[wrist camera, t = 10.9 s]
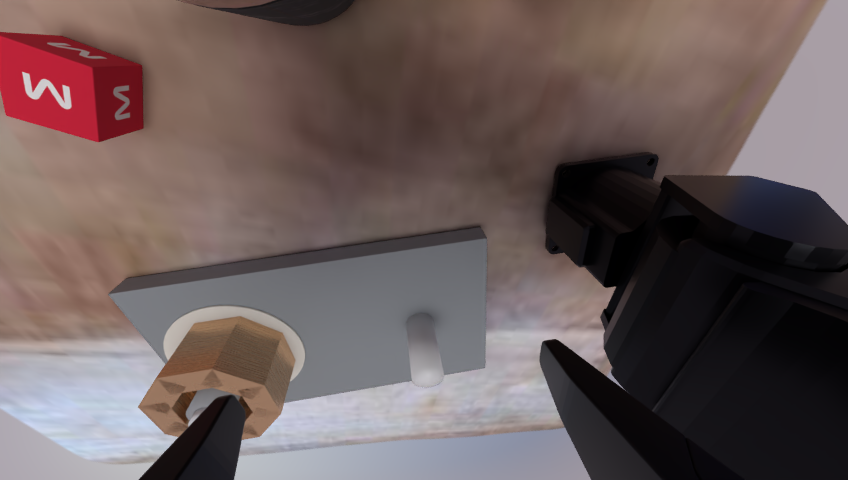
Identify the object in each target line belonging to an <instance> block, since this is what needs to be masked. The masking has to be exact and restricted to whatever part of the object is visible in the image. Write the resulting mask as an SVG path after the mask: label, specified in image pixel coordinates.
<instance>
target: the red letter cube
mask: <svg viewBox="0 0 848 480" xmlns="http://www.w3.org/2000/svg"><path fill="white" fill-rule="evenodd" d="M0 90H1V95H2V99H3V104H4V109H5V113H6V115H7V116H10V117H13V118H16V119H20V120H23V121H27V122H30V123H34V124H37V125H41V126H44V127H47V128H51V129H54V130H58V131H61V132H65V133H68V134H72V135H75V136H79V137H82V138H85V139H89V140H92V141H96V142H101V141H104V140H107V139H111V138H114V137H117V136H120V135H124V134H127V133H130V132H133V131H137V130H140V129H143V82H142V65H140V64H137V63H134V62H132V61H129V60H126V59H123V58H121V57H118V56H115V55H112V54H110V53H107V52H104V51H101V50H99V49H96V48H93V47H90V46H88V45H85V44H82V43H79V42H76V41H74V40H71V39H68V38H65V37H63V36H54V35H38V34H22V33H6V32H0Z"/></svg>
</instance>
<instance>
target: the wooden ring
mask: <svg viewBox="0 0 848 480" xmlns="http://www.w3.org/2000/svg"><path fill="white" fill-rule="evenodd" d="M295 361H296V360H295V358H294V356H293V353H292V351H291V349H290V347H289V345H288V343H287V341H286V339H285V337H284V335H283V333H282V332H279V331H277V330H274V329H272V328H269V327H267V326H264V325H262V324H259V323H257V322H254V321H252V320H249V319H247V318H244V317H241V316H237V317H231V318H224V319H218V320H211V321H205V322H198V323H194V324H193V326H192V327H191V329H190V330H189V331H188V333H187V334H186V336H185V337H184V339H183V340H182V342H181V343H180V344H179V346H178V347H177V349H176V350H175V352H174V353H173V355H172V356H171V357H170V359H169V360H168V362H167V363H166V365H165V366H164V368H163V369H162V370H161V372H160V373H159V375H158V376H157V378H156V379H155V381H154V382H153V384H152V386H151V387H150V389H149V390H148V392H147V393H146V395H145V397H144V398H143V400H142V401H141V403H140V405H139V406H138V408H139V409H140V410H141V411H142V412H143V413H145V414H146V415H147V416H148V417H149V418H150V419H151V420H152V421H153V422H154V423H155V424H156V425H157V426H158V427H159V428H160V429H161V430H162V431H163V432H164V433H165V434H168V435H172V436H177V437H179V436H180V435H181V434H182V433H183V432H184V431H185V430H186V429H187V428H188V423H189V420H188V418H187V417H186V411H187V409H188V407H189V405H190V403H191V402H192V400H193V398H194V396H195V394H196V392H197V391H198V390H203V389H209V388H215V389H218V390H221V391H225V392H228V393H232V394H235V395H239V396H240V398H239V402H240V404H241V405H242V407H243V408H244V410H245V413H246V419H245V424H244V430H243V435H242V440H244V439H249V438H255V437H260V436H261V435H262V434H263V433H264V432H265V430H266V429H267V428H268V427H269V426H270V425H271V424H272V423H273V422H274V421H275V420H276V419H277V417H278V416H279V415H280V414H281V412H282V408H283V405H284V401H285V397H286V394H287V390H288V386H289V383H290V379H291V375H292V372H293V368H294V364H295Z"/></svg>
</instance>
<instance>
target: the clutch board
mask: <svg viewBox="0 0 848 480" xmlns="http://www.w3.org/2000/svg"><path fill="white" fill-rule="evenodd" d="M486 277H487V237H486V236H485V234H484V232H483V231H482V229H481V227H478V228H471V229H464V230H457V231H450V232H443V233H436V234H429V235H423V236H416V237H409V238H402V239H395V240H388V241H381V242H374V243H367V244H361V245H354V246H347V247H340V248H333V249H326V250H319V251H312V252H306V253H299V254H292V255H285V256H278V257H271V258H264V259H257V260H250V261H244V262H237V263H230V264H223V265H216V266H209V267H202V268H195V269H188V270H182V271H175V272H168V273H161V274H154V275H147V276H140V277H133V278H127V279H125V280H124V281H122V282H121V283H120V284H119V285H118V286H117V287H116V288H114V289H113V290H112V291H111V292H110V293H109V294H108V295H109V296H110V297H111V298H112V300H113V301H114V302H115V303H116V305H117V306H118V307H119V308H120V309H121V311H122V312H123V313H124V314H125V315H126V317H127V318H128V319H129V320H130V322H131V323H132V324H133V325H134V326H135V328H136V329H137V330H138V331H139V333H140V334H141V335H142V336H143V337H144V339H145V340H146V341H147V342H148V343H149V345H150V346H151V347H152V348H153V350H154V351H155V352H156V353H157V354H158V356H159V357H160V358H161V359H162V361H163V362H164V363H165V364H166V363H167V362H168V360H169V359H170V357H171V356H172V355H173V353H174V352H175V350H176V349H177V347H178V346H179V344H180V343H181V342H182V340H183V339H184V337H185V336H186V334H187V333H188V331H189V330H190V329H191V327H192V326H193V324H194V323H198V322H205V321H211V320H218V319H224V318H231V317H237V316H241V317H244V318H247V319H249V320H252V321H254V322H257V323H259V324H262V325H264V326H267V327H269V328H272V329H274V330H277V331H279V332H282V333H283V335H284V337H285V339H286V341H287V343H288V345H289V347H290V349H291V351H292V353H293V356H294V358H295V360H296V361H295V364H294V368H293V372H292V375H291V379H290V383H289V386H288V390H287V394H286V397H285V401H284V403H286V402H292V401H298V400H303V399H309V398H315V397H321V396H326V395H332V394H338V393H344V392H350V391H355V390H361V389H367V388H373V387H378V386H384V385H390V384H396V383H402V382H407V381H412V382H413V384H414V385H416V386H418V387H421V388H429V387H433V386H436V385H438V384H439V383H440V382H441V381H442V380H443V378H444V375H448V374H454V373H459V372H465V371H471V370H477V369H482V368H485V344H486ZM231 394H232V393H228V392H225V391H221V390H218V389H215V388H209V389H203V390H198V391H197V392H196V394H195V396H194V398H193V400H192V402H191V403H190V405H189V407H188V409H187V411H186V417H187V418H188V420H189V423H188V427H189V426H190V425H191V424H192V422H193V421H194V420H195V419H196V418H197V417H198V416H199V415H200V414H201V413H202V412H203V411H204V410H205V409H206V408H207V407H208V406H209V404H210V403H211V402H212V401H213V400H214V399H216V398H217V397H220V396H224V395H231ZM232 395H234V396H235V397H236V398H237V399H238V401H239V398H240V396H239V395H235V394H232Z"/></svg>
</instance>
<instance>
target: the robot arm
mask: <svg viewBox="0 0 848 480" xmlns="http://www.w3.org/2000/svg"><path fill="white" fill-rule="evenodd" d="M649 159H650V160H649ZM658 159H659V158H658V156H657V155H656V154H653V153H649V152H648V153H640V154H633V155H626V156H618V157H611V158H603V159H596V160H589V161H581V162H574V163H566V164H562V165H560V166H559V167H558V168H557V170H556V173H555V180H554V188H553V195H552V198H551V200H550V203H549V211H548V218H547V226H546V234H547V240H546V249H547V251H548V252H549V253H551V254H558V253H565V254H566V255H567V256H568V257H569V258H570V259H571V260H572V261H573V262H574V263H575V264H576V265H577V266H578V267H585V268H586V269H587V270H588V271H589V272H590V273H591V274H592V275H593V276H594V277H595V278H596V279H597V280H598V281H599V282H600V283H601V284H602V285H603V286H604V287H606V288H608V287H614V286H616V289H615V291H614V293H613V295H612V297H611V300H610V302H609V304H608V306H607V308H606V309H604V310H603V312H602V314H601V317H600V318H601V321H602V323H603V326H604V329H605V333H604V350H605V352H606V354H607V357H608V359H609V361H610V364H611V365H612V369H611V373H612V375H613V376H614V378H615V379H616V380H617V381H618V382H619V384H620V385H621V386H622V387H623V388H624V389H625V390H626V391H627V392H626V391H625V390H624V389H622V388H621V387H620V386H618V385H617V384H616V383H614V382H613V381H611V380H610V379H609V378H608V377H606V376H605V375H604V374H602V373H601V372H600V371H598V370H597V369H596V368H594V367H593V366H592V365H590V364H589V363H588V362H587V361H585V360H584V359H583V358H581V357H580V356H579V355H577V354H576V353H575V352H573V351H572V350H571V349H569V348H568V347H567V346H565V345H564V344H563V343H561V342H560V341H559V340H556V339H552V340H546V341H543V342H542V346H541V352H540V365H541V368H542V371H543V373H544V376H545V379H546V381H547V384H548V386H549V389H550V392H551V394H552V397H553V400H554V402H555V405H556V407H557V410H558V413H559V415H560V418H561V420H562V422H563V424H564V426H565V428H566V430H567V432H568V434H569V436H570V438H571V440H572V442H573V444H574V446H575V448H576V450H577V452H578V454H579V456H580V458H581V460H582V462H583V464H584V466H585V468H586V470H587V472H588V474H589V476H590V478H591V480H848V225H847V224H846V223H845V222H844V221H843V220H842V219H841V217H840V216H839V215H838V214H837V213H836V212H835V211H834V210H833V209H832V208H831V207H830V206H829V205H828V204H827V203H826V202H825V201H824V200H823V199H822V198H821V197H820V196H819V195H818V194H817V193H816V192H813V191H811V190H807V189H803V188H799V187H795V186H791V185H786V184H783V183H779V182H775V181H771V180H767V179H763V178H759V177H754V176H685V175H666V176H664V178H663V180H662V183H659V182H657V181H655V180H653V177H654V173H655V170H656V167H657V163H658ZM648 160H649V162H648V163H647V161H648ZM565 170H567V173H566V174H565V175H562V174H563V172H564V171H565ZM555 245H556V246H555ZM553 246H555V247H554V248H552V247H553ZM245 419H246V413H245V410H244V408H243V407H242V405H241V404H240V402H239V401H238V399H237V398H236V397H235V396H234V395H232V394H231V395H224V396H220V397H217V398H216V399H214V400H213V401H212V402H211V403H210V404H209V406H208V407H207V408H206V409H205V410H204V411H203V412H202V413H201V414H200V415H199V416H198V417H197V418H196V419H195V420H194V421H193V422H192V424H191V425H190V426H189V427H188V428H187V429H186V430H185V431H184V432H183V433H182V434H181V435H180V436H179V437H178V438H177V439H176V440H175V442H174V443H173V444H172V445H171V446H170V447H169V448H168V449H167V450H166V451H165V452H164V453H163V454H162V455H161V456H160V457H159V459H158V460H157V461H156V462H155V463H154V464H153V465H152V466H151V467H150V468H149V469H148V470H147V471H146V472H145V473H144V474H143V475H142V477H141V478H140V479H139V480H234V476H235V472H236V467H237V462H238V457H239V451H240V446H241V441H242V435H243V430H244V424H245Z"/></svg>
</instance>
